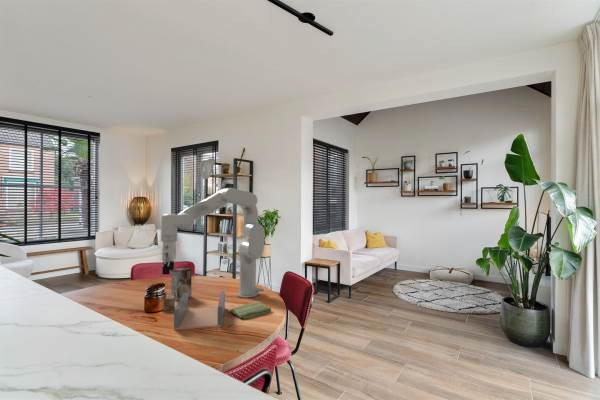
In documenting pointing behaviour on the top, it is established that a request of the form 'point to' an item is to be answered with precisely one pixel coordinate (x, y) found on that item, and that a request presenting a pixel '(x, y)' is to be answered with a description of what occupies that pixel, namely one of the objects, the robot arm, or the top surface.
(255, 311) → the washcloth
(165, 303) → the walnut block
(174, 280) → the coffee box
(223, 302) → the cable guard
